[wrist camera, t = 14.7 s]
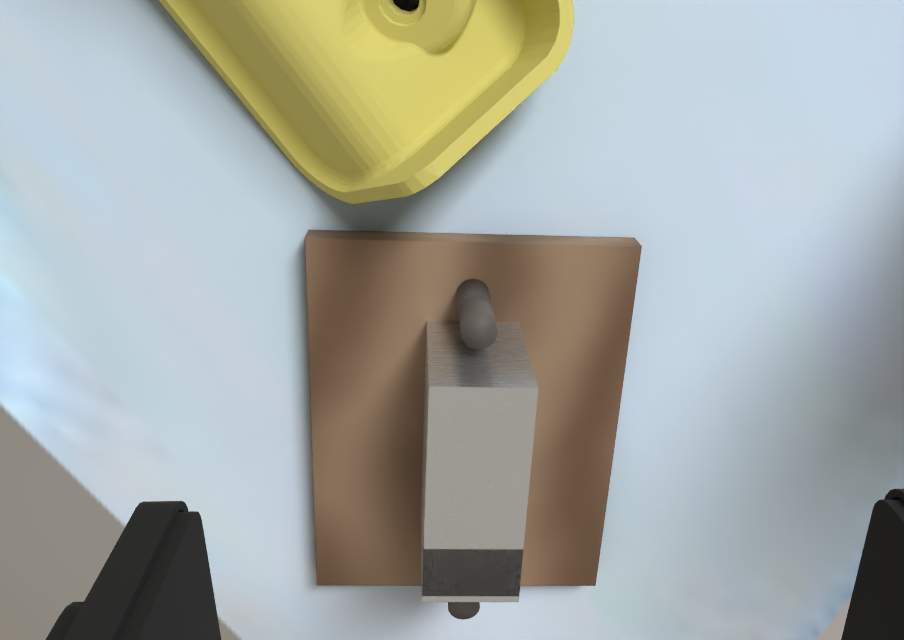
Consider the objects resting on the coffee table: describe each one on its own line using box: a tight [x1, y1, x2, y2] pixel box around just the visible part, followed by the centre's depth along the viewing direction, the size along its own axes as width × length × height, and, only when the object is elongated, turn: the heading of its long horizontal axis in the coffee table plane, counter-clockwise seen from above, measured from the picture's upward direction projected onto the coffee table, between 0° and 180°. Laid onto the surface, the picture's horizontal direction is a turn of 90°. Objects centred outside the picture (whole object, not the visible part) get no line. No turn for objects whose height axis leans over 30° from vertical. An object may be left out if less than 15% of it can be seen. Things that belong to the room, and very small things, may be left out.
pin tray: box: [305, 230, 642, 619], centre depth 36 cm, size 14×18×5 cm
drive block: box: [421, 321, 538, 602], centre depth 34 cm, size 4×10×6 cm, turn 178°
